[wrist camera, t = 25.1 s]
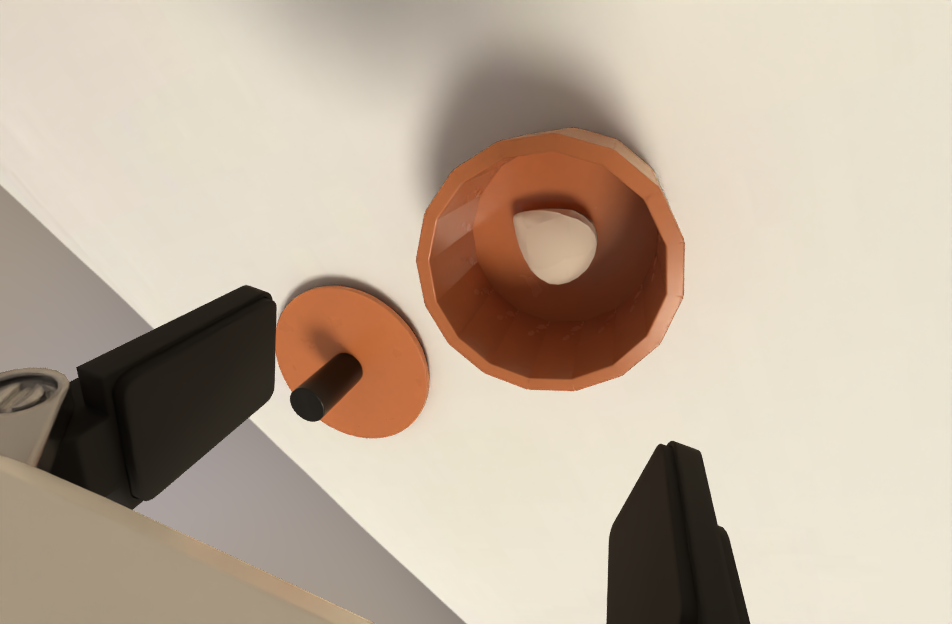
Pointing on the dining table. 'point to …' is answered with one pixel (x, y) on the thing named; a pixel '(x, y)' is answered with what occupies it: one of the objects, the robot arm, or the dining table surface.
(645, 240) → the orange hollow cylinder
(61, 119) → the dining table surface
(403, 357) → the lid
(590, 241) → the macaroon
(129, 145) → the dining table surface
